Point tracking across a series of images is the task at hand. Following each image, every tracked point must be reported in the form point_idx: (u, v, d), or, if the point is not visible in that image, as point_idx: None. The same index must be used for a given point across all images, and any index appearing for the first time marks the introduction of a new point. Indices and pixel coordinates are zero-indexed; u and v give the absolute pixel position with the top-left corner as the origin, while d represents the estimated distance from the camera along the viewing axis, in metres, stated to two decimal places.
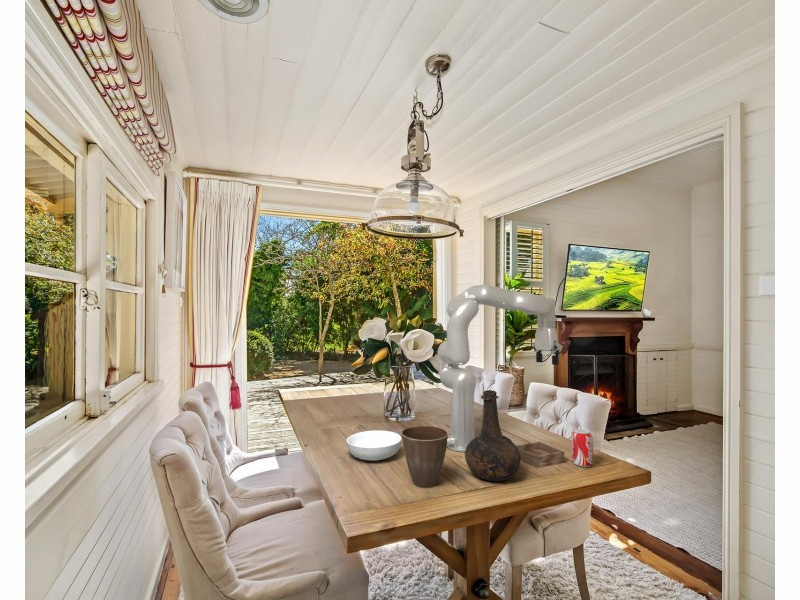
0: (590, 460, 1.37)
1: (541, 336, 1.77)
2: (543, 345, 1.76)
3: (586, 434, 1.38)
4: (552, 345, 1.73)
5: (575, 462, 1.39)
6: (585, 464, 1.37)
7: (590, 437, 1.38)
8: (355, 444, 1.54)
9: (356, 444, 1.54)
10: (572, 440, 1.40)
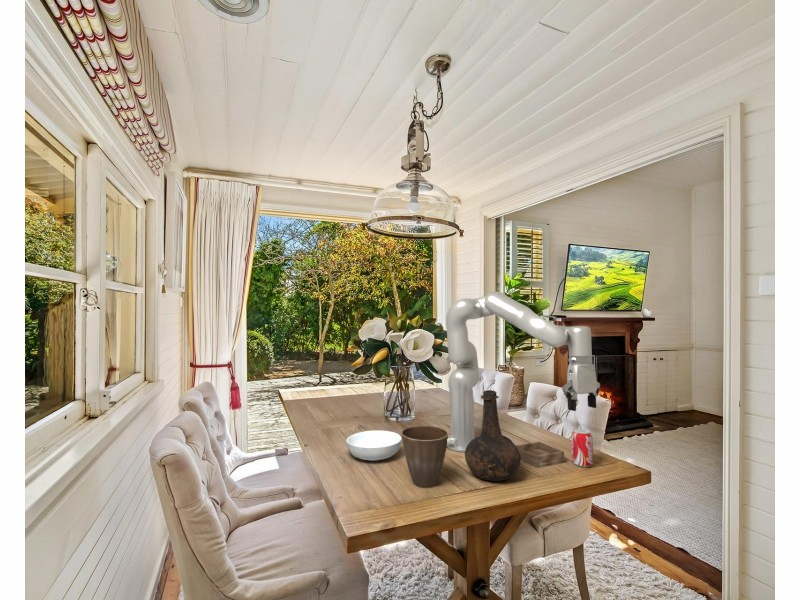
0: (590, 460, 1.37)
1: (586, 375, 1.38)
2: (589, 386, 1.39)
3: (586, 434, 1.38)
4: None
5: (575, 462, 1.39)
6: (585, 464, 1.37)
7: (590, 437, 1.38)
8: (355, 444, 1.54)
9: (356, 444, 1.54)
10: (572, 440, 1.40)
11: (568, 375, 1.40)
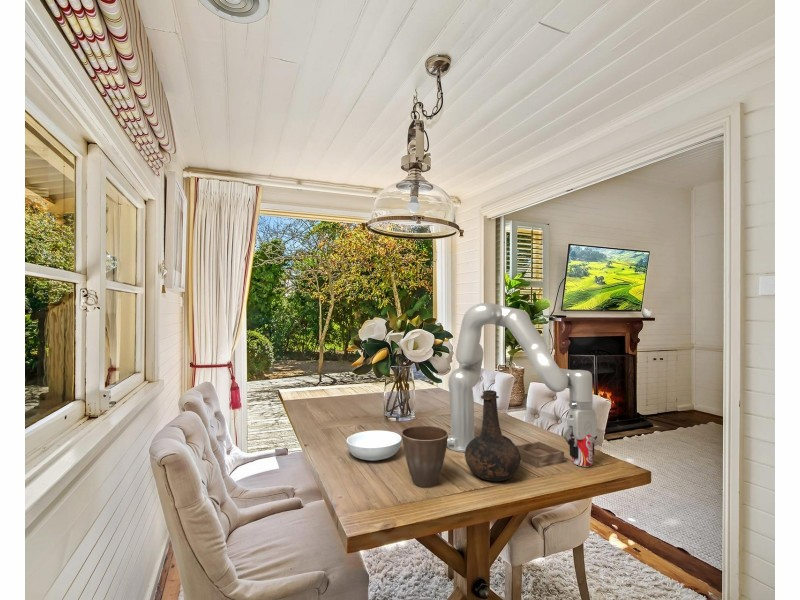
0: (590, 460, 1.37)
1: (587, 421, 1.38)
2: (590, 432, 1.38)
3: None
4: None
5: (575, 462, 1.39)
6: (585, 464, 1.37)
7: (590, 437, 1.38)
8: (355, 444, 1.54)
9: (356, 444, 1.54)
10: None
11: (568, 420, 1.40)
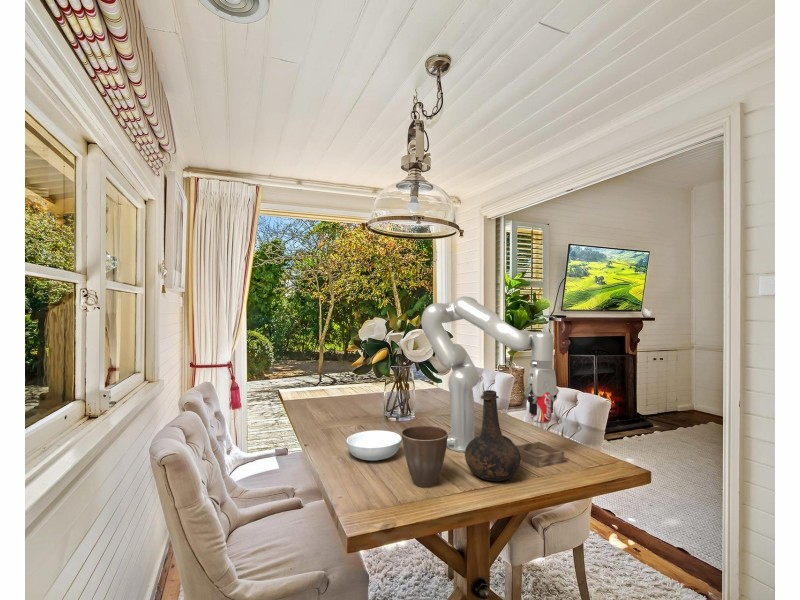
0: (548, 416, 1.43)
1: (546, 379, 1.44)
2: (549, 390, 1.44)
3: None
4: None
5: (534, 418, 1.45)
6: (543, 420, 1.43)
7: (549, 395, 1.44)
8: (355, 444, 1.54)
9: (356, 444, 1.54)
10: (532, 398, 1.46)
11: (529, 378, 1.46)
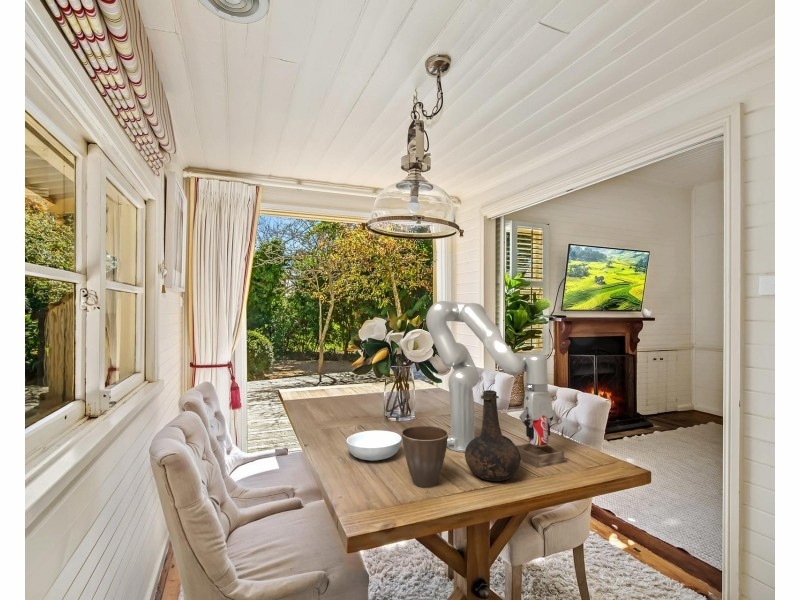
0: (545, 440, 1.43)
1: (542, 402, 1.44)
2: (545, 413, 1.44)
3: None
4: None
5: (531, 442, 1.45)
6: (540, 443, 1.43)
7: (545, 418, 1.44)
8: (355, 444, 1.54)
9: (356, 444, 1.54)
10: None
11: (525, 402, 1.46)
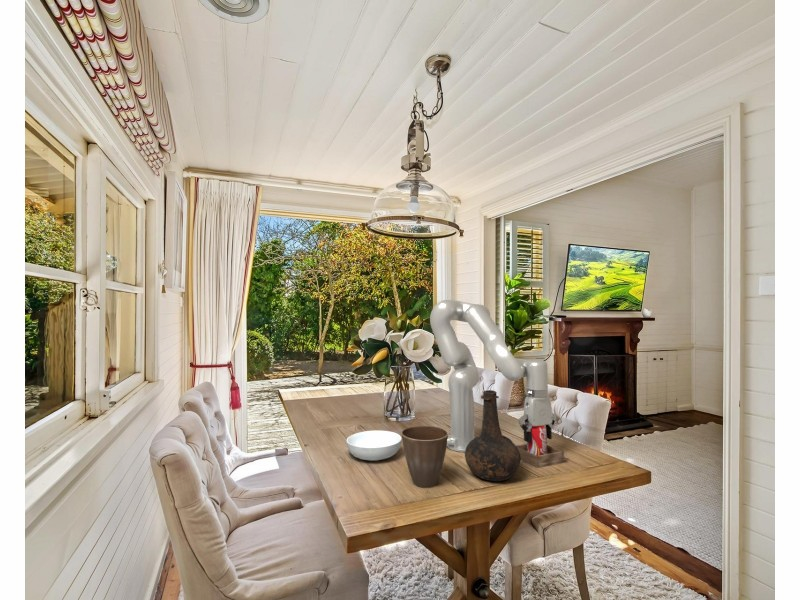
0: (544, 451, 1.43)
1: (542, 408, 1.44)
2: (544, 419, 1.44)
3: (540, 426, 1.44)
4: None
5: None
6: None
7: (544, 429, 1.44)
8: (355, 444, 1.54)
9: (356, 444, 1.54)
10: None
11: (525, 407, 1.46)
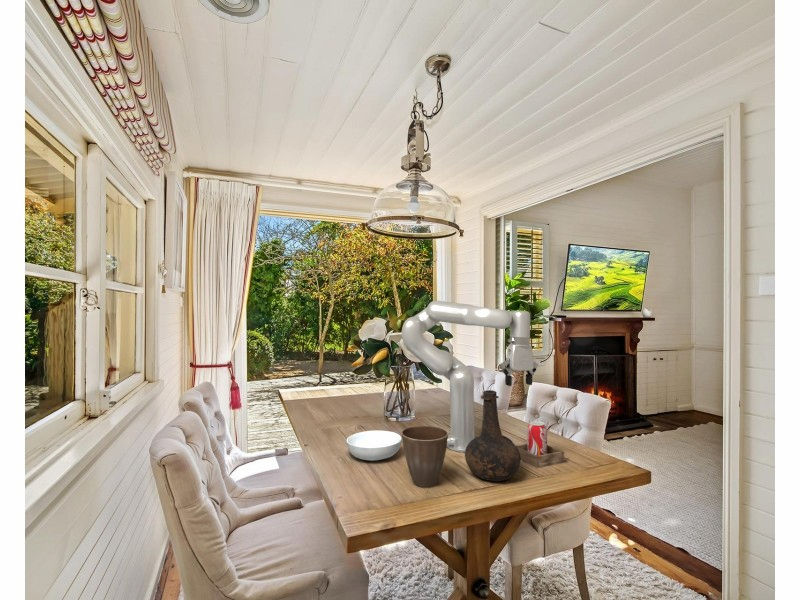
0: (544, 451, 1.43)
1: (523, 355, 1.54)
2: (525, 365, 1.54)
3: (540, 426, 1.44)
4: None
5: None
6: None
7: (544, 429, 1.44)
8: (355, 444, 1.54)
9: (356, 444, 1.54)
10: (528, 432, 1.46)
11: (507, 354, 1.56)
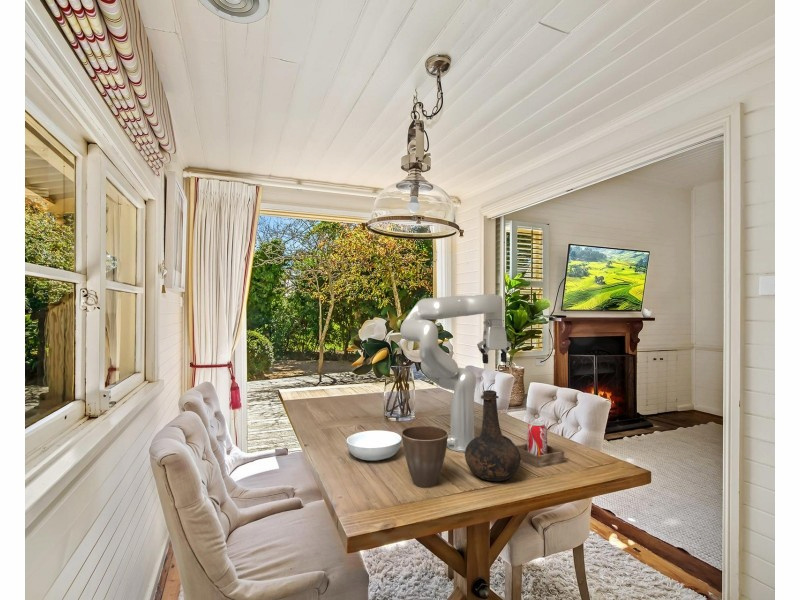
0: (544, 451, 1.43)
1: (497, 335, 1.70)
2: (500, 344, 1.71)
3: (540, 426, 1.44)
4: None
5: None
6: None
7: (544, 429, 1.44)
8: (355, 444, 1.54)
9: (356, 444, 1.54)
10: (528, 432, 1.46)
11: (483, 335, 1.72)
